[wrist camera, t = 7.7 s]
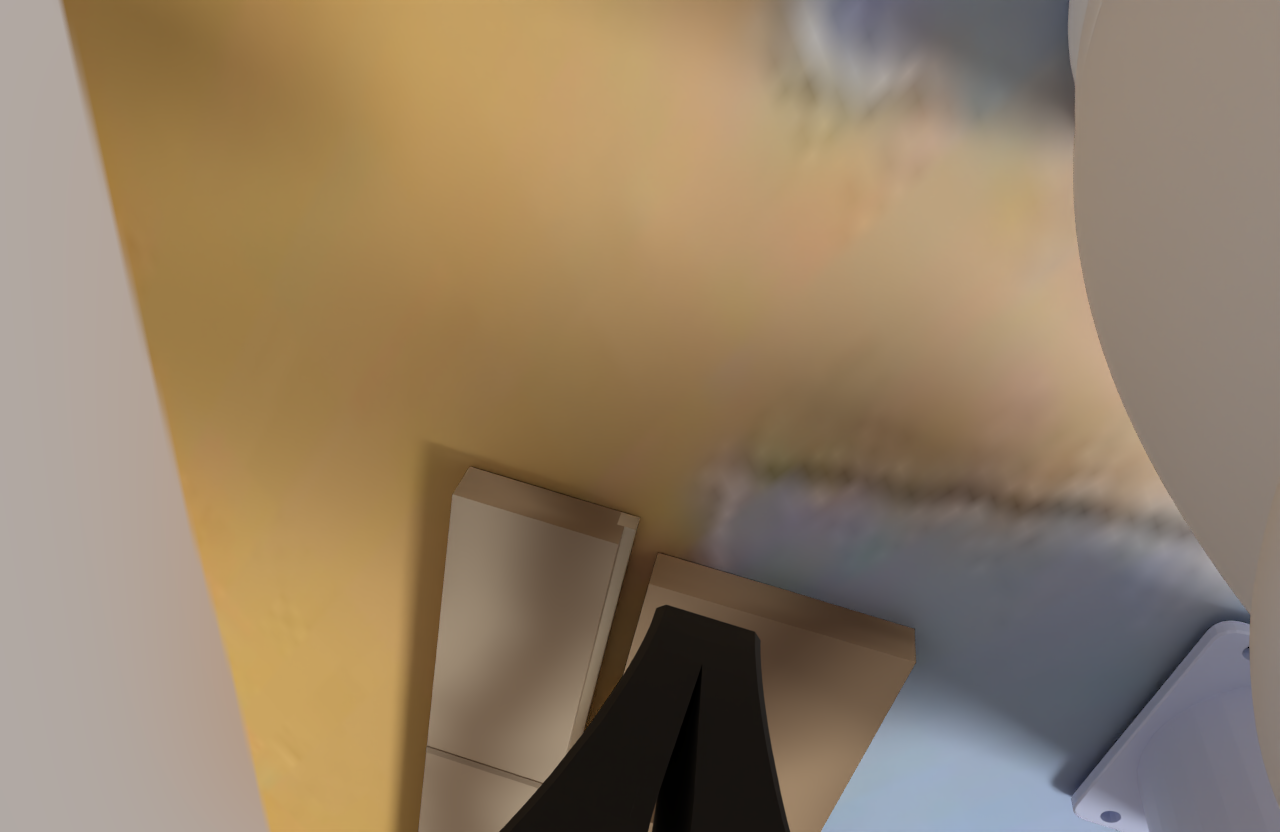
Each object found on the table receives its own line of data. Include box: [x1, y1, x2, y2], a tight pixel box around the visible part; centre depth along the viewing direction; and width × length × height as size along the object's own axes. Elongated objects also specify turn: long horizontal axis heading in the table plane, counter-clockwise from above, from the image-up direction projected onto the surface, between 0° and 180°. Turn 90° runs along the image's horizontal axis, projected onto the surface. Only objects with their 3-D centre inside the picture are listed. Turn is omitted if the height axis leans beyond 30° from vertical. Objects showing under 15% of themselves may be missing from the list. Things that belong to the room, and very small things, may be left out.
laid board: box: [418, 467, 640, 832], centre depth 30 cm, size 5×21×1 cm, turn 169°
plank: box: [623, 553, 916, 832], centre depth 27 cm, size 7×9×1 cm
